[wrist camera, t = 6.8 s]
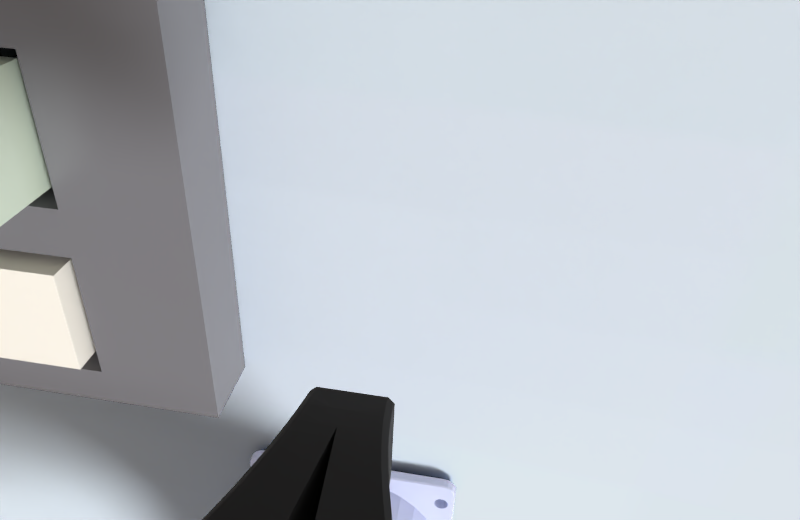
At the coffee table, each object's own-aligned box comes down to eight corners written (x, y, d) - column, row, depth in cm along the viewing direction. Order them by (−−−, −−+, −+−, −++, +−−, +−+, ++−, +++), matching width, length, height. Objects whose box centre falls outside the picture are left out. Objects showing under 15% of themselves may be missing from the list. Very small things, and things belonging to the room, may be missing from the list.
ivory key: (124, 316, 24) (80, 369, 22) (29, 302, 24) (-24, 353, 22) (104, 227, 22) (53, 276, 20) (0, 214, 22) (-62, 260, 20)
